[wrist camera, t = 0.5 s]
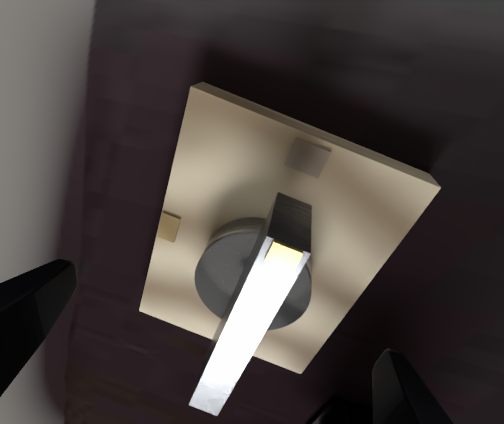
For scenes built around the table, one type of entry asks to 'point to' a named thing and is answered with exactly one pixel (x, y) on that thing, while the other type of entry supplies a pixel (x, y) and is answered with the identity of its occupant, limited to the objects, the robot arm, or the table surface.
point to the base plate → (259, 203)
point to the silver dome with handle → (251, 290)
